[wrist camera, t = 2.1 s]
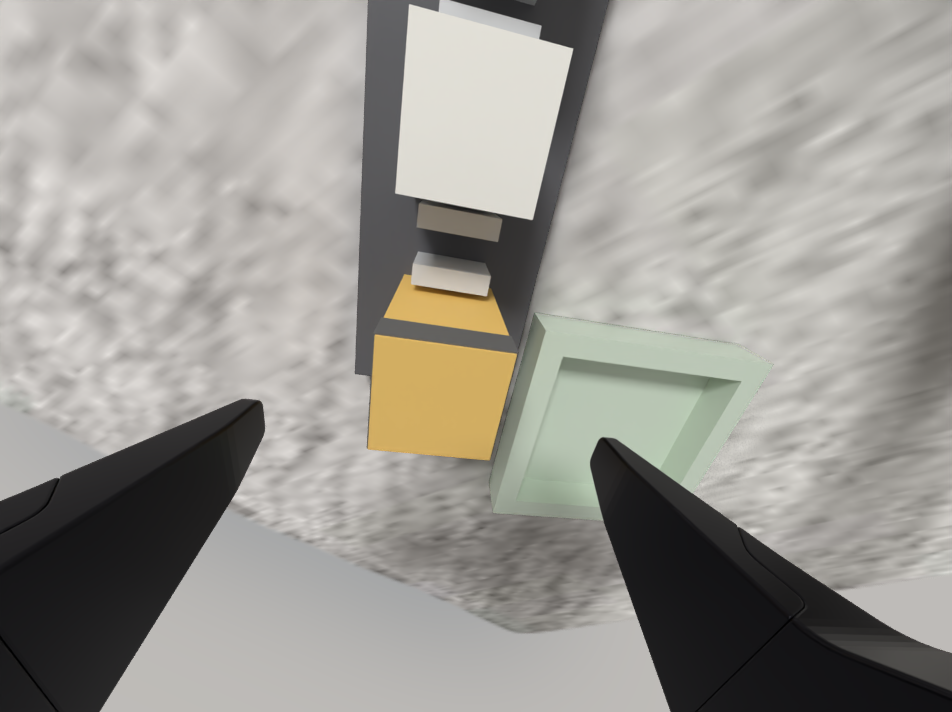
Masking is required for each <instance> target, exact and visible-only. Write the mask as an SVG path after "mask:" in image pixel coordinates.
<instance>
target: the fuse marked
mask: <svg viewBox="0 0 952 712" xmlns="http://www.w3.org/2000/svg"><path fill="white" fill-rule="evenodd" d="M411 277H412V275H406V274H404V276H403V278H402V280H401V282H400V284H399V287H398V289H397V291H396V293H395V295H394V297H393V299H392V301H391V303H390V305H389V307H388V309H387V311H386V313H385V315H384V318H383V317H381V319H380V321H379V323H378V325H377V327H376V329H375V331H374V333H373V350H372V367H371V384H370V402H369V419H368V436H367V448H368V449H369V450H380V451H391V452H402V453H413V454H424V455H435V456H446V457H457V458H468V459H479V460H490V459H491V455H492V452H493V448H494V444H495V440H496V436H497V432H498V429H499V425H500V421H501V417H502V413H503V410H504V406H505V402H506V398H507V394H508V390H509V387H510V383H511V379H512V375H513V371H514V368H515V364H516V360H517V356H518V350H517V348H516V345H515V343H514V340H513V338H512V336H509V334H508V331H507V328H506V326H505V323H504V321H503V318H502V315H501V313H500V310H499V308H498V305H497V303H496V300H495V297H494V295H493V292H492V290H491V288H489V289H488V294H487V296H481V295H475V294H469V293H463V292H456V291H450V290H444V289H438V288H431V287H425V286H419V285H412V284H411Z"/></svg>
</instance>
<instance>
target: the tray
mask: <svg viewBox="0 0 952 712" xmlns="http://www.w3.org/2000/svg"><path fill="white" fill-rule="evenodd" d="M773 365H774V364H772V363H770V362H769V361H767V360H765V359H763V358H762V357H760V356H758V355H756V354H755V353H753V352H751V351H749V350H747V349H746V348H744V347H742V346H740V345H739V344H733V343H727V342H720V341H714V340H708V339H701V338H695V337H688V336H682V335H675V334H669V333H663V332H656V331H650V330H643V329H637V328H630V327H624V326H617V325H611V324H605V323H598V322H592V321H585V320H579V319H572V318H566V317H560V316H553V315H547V314H540V313H534V316H533V320H532V324H531V327H530V331H529V335H528V338H527V342H526V346H525V350H524V353H523V357H522V361H521V364H520V368H519V372H518V376H517V379H516V383H515V387H514V390H513V394H512V398H511V402H510V405H509V409H508V413H507V416H506V420H505V424H504V428H503V431H502V435H501V439H500V442H499V446H498V450H497V454H496V457H495V461H494V465H493V468H492V472H491V476H490V479H489V487H490V495H491V503H492V510H493V513H499V514H513V515H527V516H542V517H556V518H571V519H585V520H599V521H603V518H602V514H601V510H600V506H599V502H598V498H597V494H596V490H595V486H594V481H593V477H592V473H591V469H590V459H591V456H592V454H593V451H594V449H595V447H596V444H597V442H598V440H599V439H600V438H601V437H608V438H615V439H617V440H618V441H620V442H621V443H623V444H624V445H625V446H627V447H628V448H630V449H631V450H632V451H634V452H635V453H637V454H638V455H639V456H641V457H642V458H644V459H645V460H646V461H648V462H649V463H651V464H652V465H653V466H655V467H656V468H658V469H659V470H660V471H662V472H663V473H665V474H666V475H667V476H669V477H670V478H672V479H673V480H674V481H676V482H677V483H679V484H680V485H681V486H683V487H684V488H686V489H687V490H688V491H690V492H691V493H693V492H694V491H695V489H696V488H697V486H698V484H699V483H700V481H701V480H702V478H703V476H704V475H705V473H706V472H707V470H708V468H709V467H710V465H711V464H712V462H713V461H714V459H715V457H716V456H717V454H718V453H719V451H720V449H721V448H722V446H723V445H724V443H725V441H726V440H727V438H728V437H729V435H730V433H731V432H732V430H733V429H734V427H735V426H736V424H737V422H738V421H739V419H740V418H741V416H742V414H743V413H744V411H745V410H746V408H747V406H748V405H749V403H750V402H751V400H752V398H753V397H754V395H755V394H756V392H757V391H758V389H759V387H760V386H761V384H762V383H763V381H764V379H765V378H766V376H767V375H768V373H769V371H770V370H771V368H772V367H773Z"/></svg>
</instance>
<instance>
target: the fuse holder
mask: <svg viewBox="0 0 952 712" xmlns="http://www.w3.org/2000/svg"><path fill="white" fill-rule="evenodd" d="M608 2H609V0H368V17H367V45H366V74H365V102H364V131H363V159H362V188H361V216H360V245H359V274H358V302H357V331H356V359H355V374H359V375H367V376H371V367H372V350H373V333H374V331H375V329H376V327H377V325H378V323H379V321H380V319H381V317H383V318H384V315H385V313H386V311H387V309H388V307H389V305H390V303H391V301H392V299H393V297H394V295H395V293H396V291H397V289H398V287H399V284H400V282H401V280H402V278H403V276H404V274H406V275H412V277H411V284H412V285H419V286H425V287H431V288H438V289H444V290H450V291H456V292H463V293H469V294H475V295H481V296H487V294H488V289H489V288H491V290H492V292H493V295H494V297H495V300H496V303H497V305H498V308H499V310H500V313H501V315H502V318H503V321H504V323H505V326H506V328H507V331H508V334H509V336H512V338H513V340H514V343H515V345H516V348H517V350H518V347H519V344H520V340H521V336H522V332H523V328H524V324H525V320H526V317H527V313H528V309H529V305H530V301H531V297H532V294H533V290H534V286H535V282H536V278H537V274H538V271H539V267H540V263H541V259H542V255H543V251H544V247H545V244H546V240H547V236H548V232H549V228H550V224H551V221H552V217H553V213H554V209H555V205H556V201H557V197H558V194H559V190H560V186H561V182H562V178H563V174H564V171H565V167H566V163H567V159H568V155H569V151H570V148H571V144H572V140H573V136H574V132H575V128H576V124H577V121H578V117H579V113H580V109H581V105H582V101H583V98H584V94H585V90H586V86H587V82H588V78H589V75H590V71H591V67H592V63H593V59H594V55H595V51H596V48H597V44H598V40H599V36H600V32H601V28H602V25H603V21H604V17H605V13H606V9H607V5H608ZM409 4H411V5H414V6H418V7H422V8H426V9H429V10H433V11H437V12H440V13H444V14H448V15H451V16H455V17H459V18H462V19H466V20H470V21H473V22H477V23H481V24H484V25H488V26H492V27H495V28H499V29H503V30H507V31H510V32H514V33H518V34H521V35H525V36H529V37H532V38H536V39H540V40H543V41H547V42H551V43H554V44H558V45H562V46H565V47H569V48H573V53H572V57H571V61H570V65H569V69H568V74H567V78H566V82H565V86H564V90H563V95H562V99H561V103H560V107H559V111H558V116H557V120H556V124H555V128H554V132H553V137H552V141H551V145H550V149H549V153H548V158H547V162H546V166H545V170H544V174H543V179H542V183H541V187H540V191H539V196H538V200H537V204H536V208H535V212H534V217H533V220H529V219H524V218H519V217H514V216H509V215H504V214H498V213H493V212H488V211H483V210H478V209H473V208H468V207H462V206H457V205H452V204H447V203H442V202H437V201H432V200H426V199H421V198H416V197H411V196H406V195H401V194H396V193H395V189H396V176H397V162H398V149H399V135H400V121H401V108H402V94H403V81H404V67H405V54H406V40H407V26H408V13H409Z"/></svg>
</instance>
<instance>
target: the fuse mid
mask: <svg viewBox="0 0 952 712" xmlns="http://www.w3.org/2000/svg"><path fill="white" fill-rule="evenodd" d="M572 53H573V48H569V47H565V46H562V45H558V44H554V43H551V42H547V41H543V40H540V39H536V38H532V37H529V36H525V35H521V34H518V33H514V32H510V31H507V30H503V29H499V28H495V27H492V26H488V25H484V24H481V23H477V22H473V21H470V20H466V19H462V18H459V17H455V16H451V15H448V14H444V13H440V12H437V11H433V10H429V9H426V8H422V7H418V6H414V5H411V4H409V13H408V26H407V40H406V54H405V67H404V81H403V94H402V108H401V121H400V135H399V149H398V162H397V176H396V189H395V193H396V194H401V195H406V196H411V197H416V198H421V199H426V200H432V201H437V202H442V203H447V204H452V205H457V206H462V207H468V208H473V209H478V210H483V211H488V212H493V213H498V214H504V215H509V216H514V217H519V218H524V219H529V220H533V217H534V212H535V208H536V204H537V200H538V196H539V191H540V187H541V183H542V179H543V174H544V170H545V166H546V162H547V158H548V153H549V149H550V145H551V141H552V137H553V132H554V128H555V124H556V120H557V116H558V111H559V107H560V103H561V99H562V95H563V90H564V86H565V82H566V78H567V74H568V69H569V65H570V61H571V57H572Z"/></svg>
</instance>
